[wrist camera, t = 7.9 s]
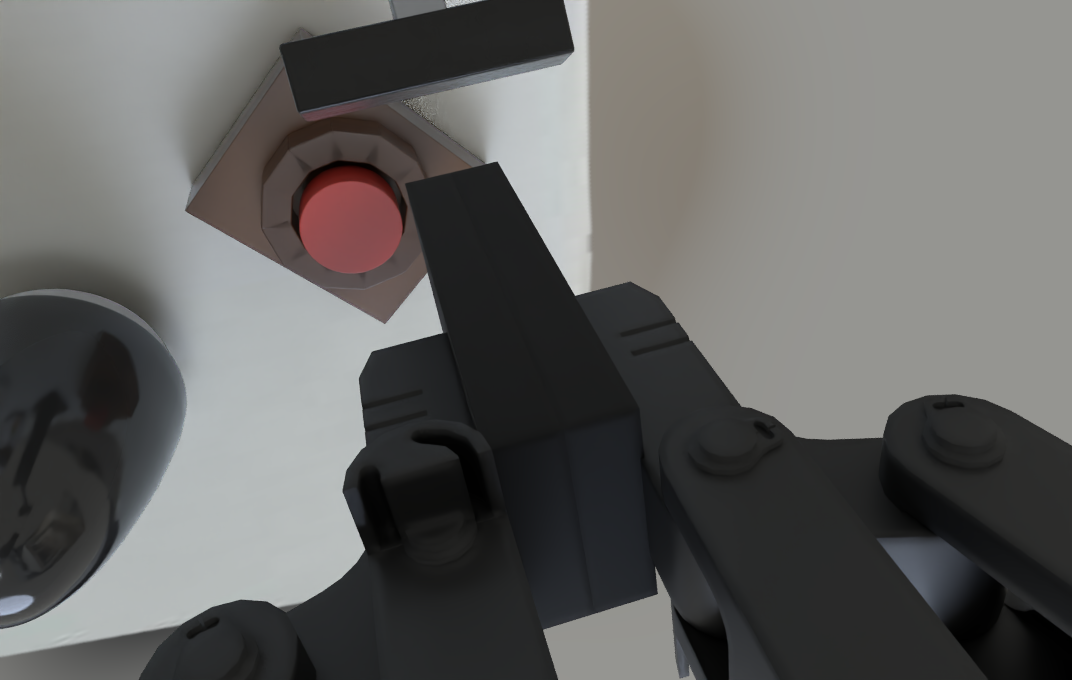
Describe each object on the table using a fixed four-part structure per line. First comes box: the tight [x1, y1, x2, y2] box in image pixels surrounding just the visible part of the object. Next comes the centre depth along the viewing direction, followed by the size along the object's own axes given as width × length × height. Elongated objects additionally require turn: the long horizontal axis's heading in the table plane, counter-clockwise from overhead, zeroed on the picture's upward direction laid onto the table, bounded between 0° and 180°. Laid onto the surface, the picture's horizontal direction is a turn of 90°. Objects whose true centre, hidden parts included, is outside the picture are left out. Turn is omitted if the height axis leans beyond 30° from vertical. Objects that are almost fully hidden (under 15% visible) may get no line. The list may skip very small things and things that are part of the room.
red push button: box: [299, 165, 403, 273], centre depth 33 cm, size 4×4×2 cm
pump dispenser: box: [0, 289, 187, 629], centre depth 32 cm, size 10×10×15 cm
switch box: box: [185, 27, 485, 324], centre depth 35 cm, size 10×8×4 cm
